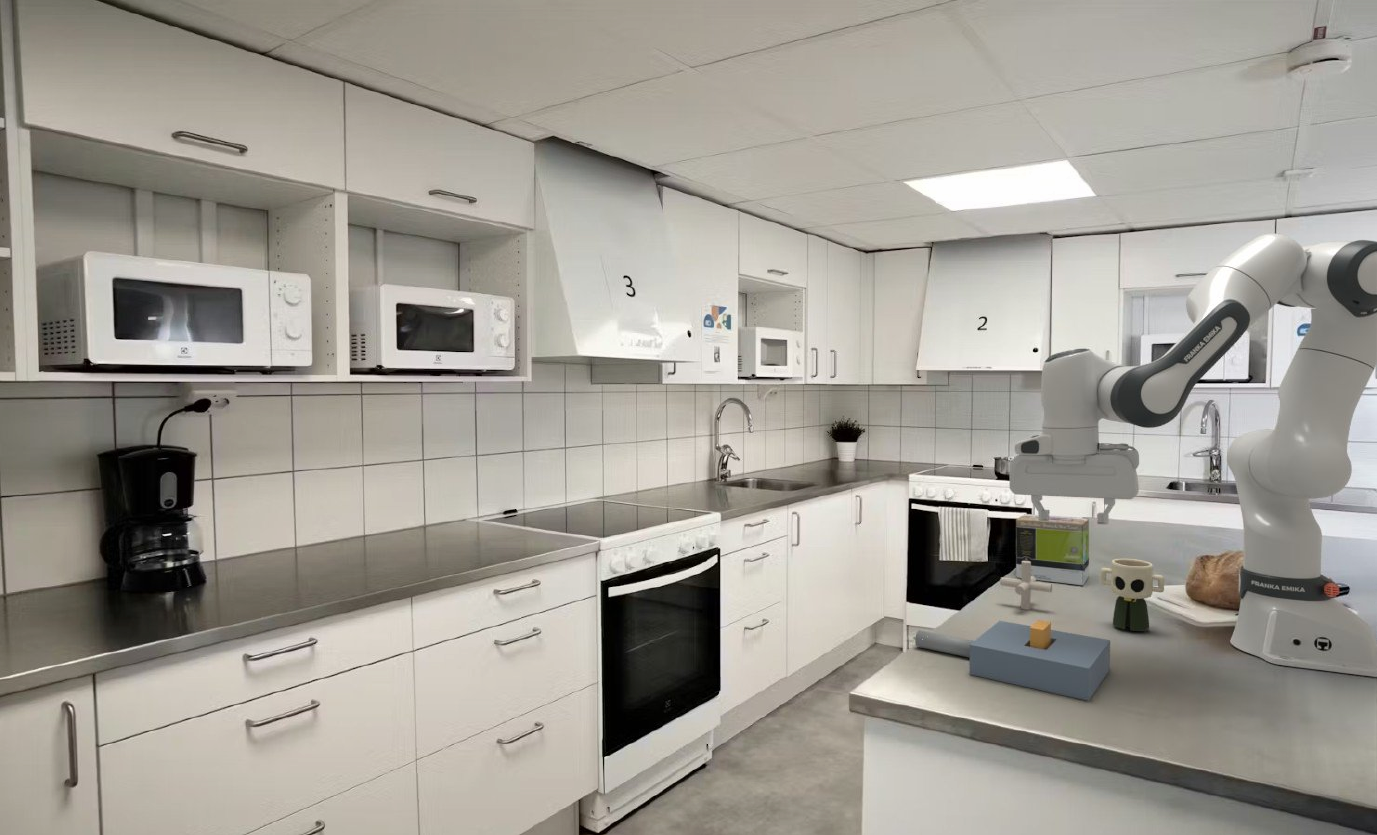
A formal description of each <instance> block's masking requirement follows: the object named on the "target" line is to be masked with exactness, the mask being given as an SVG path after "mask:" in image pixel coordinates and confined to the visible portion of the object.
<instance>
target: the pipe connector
mask: <svg viewBox="0 0 1377 835" xmlns="http://www.w3.org/2000/svg"><path fill="white" fill-rule="evenodd" d="M999 580H1000V582H999V583H1000V586H1002V587H1004V586H1005V587H1010V588H1015V589H1014V592H1015V593H1016V594H1017V595H1019V596H1020V609H1022V610H1025V611H1026V610H1027V611H1029V610H1031V599H1032V598H1031V591H1038V592H1044V593H1052V591H1053V584H1052V583H1046V582H1039V581H1037V580H1036V578H1035V577H1033V576H1031V562H1030V561H1022V569H1021V578H1010V577H1000V579H999Z"/></svg>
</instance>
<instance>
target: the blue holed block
mask: <svg viewBox="0 0 1377 835" xmlns="http://www.w3.org/2000/svg"><path fill="white" fill-rule="evenodd" d="M1032 626H1033V625H1027V624H1020V623H1017V622H1015V623H1014V622H1010V621H1003V620H998V621H997V622H996V623H994V624H993V625H992V626H991V627H990V628H988V629H987V630H986V631H985V632H984V633H982V634H980V636H979V637H978V638H976V639H975V640H973V639H967V638H961V637H956V636H951V635H946V634H940V633H935V632H931V631H926V630H921V629H919V630H917V632H916V635H915V639H914V640H915V642H914V643H915V646H916V647H917V648H922V649H927V650H932V651H936V652H941V653H946V654H950V655H955V656H960V657H965V658H969V675H970V676H971V675H972V676H976V677H980V678H984V679H989V680H992V681H993V680H994V681H999V682H1001V683H1008V684H1012V685H1016V686H1020V687H1025V688H1030V689H1033V690H1038V691H1043V692H1048V693H1052V694H1057V695H1060V696H1061V695H1062V696H1065V697H1070V698H1074V699H1080V700H1083V701H1090V700H1091V698H1092V697H1093V695H1094V693H1095V692H1097V689H1098V688H1099V686H1100V685H1101V683H1103V680H1104V679H1105V677H1106V676H1107V674H1109V671H1110V670H1111V662H1110V661H1111V639H1106V638H1101V637H1100V638H1099V637H1094V636H1088V635H1082V634H1078V633H1071V632H1066V631H1061V630H1055V629H1051V646H1050V647H1049V648H1048V649H1047V650H1044V649H1039V648H1033V647H1030V627H1032ZM927 636H928V637H927ZM922 639H923V640H922Z"/></svg>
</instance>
